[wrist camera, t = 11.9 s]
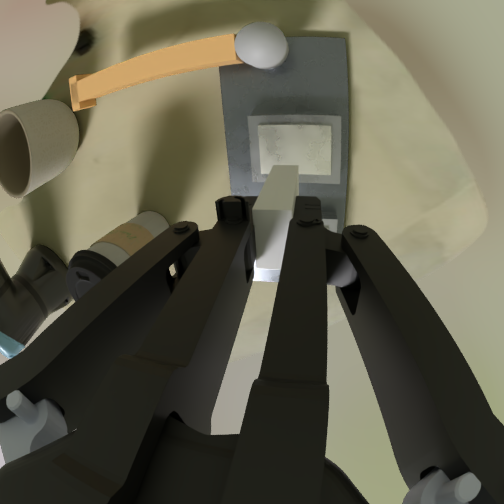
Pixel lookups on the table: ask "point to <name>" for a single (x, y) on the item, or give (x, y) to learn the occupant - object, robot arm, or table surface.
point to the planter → (35, 144)
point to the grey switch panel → (291, 125)
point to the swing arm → (184, 61)
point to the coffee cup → (111, 251)
